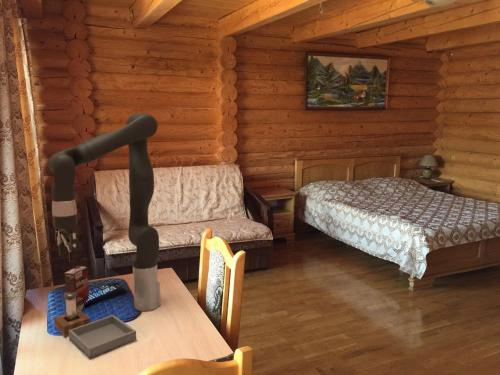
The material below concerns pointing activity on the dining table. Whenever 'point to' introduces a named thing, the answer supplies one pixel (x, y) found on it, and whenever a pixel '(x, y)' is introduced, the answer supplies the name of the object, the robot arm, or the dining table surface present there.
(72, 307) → the lock pin
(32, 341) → the dining table surface
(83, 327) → the tray
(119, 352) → the dining table surface
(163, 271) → the dining table surface
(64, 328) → the pin holder
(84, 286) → the supplement box
